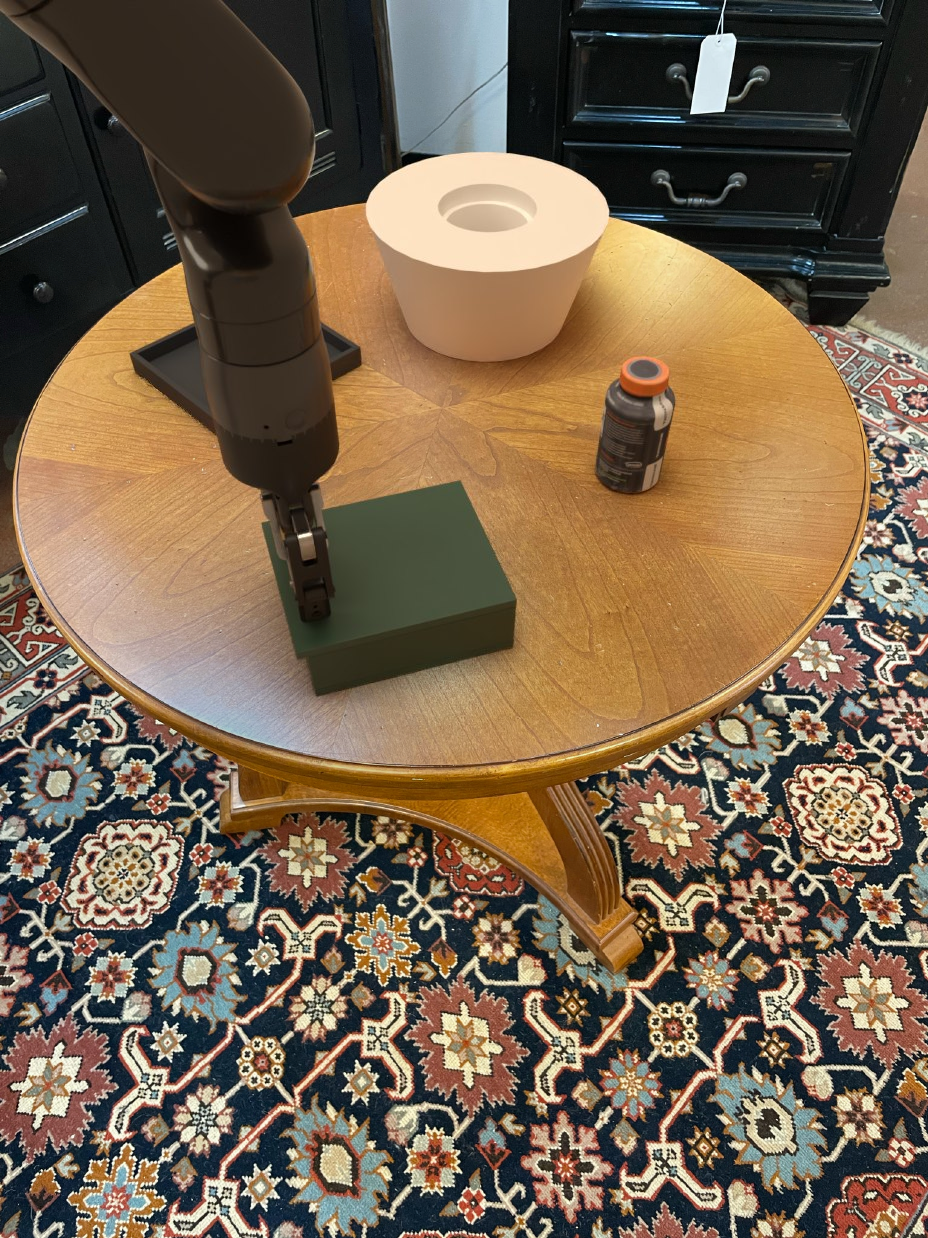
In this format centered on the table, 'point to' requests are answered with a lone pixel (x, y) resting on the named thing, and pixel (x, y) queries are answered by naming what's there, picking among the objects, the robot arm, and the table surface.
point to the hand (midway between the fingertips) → (303, 575)
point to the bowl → (486, 249)
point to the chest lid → (398, 569)
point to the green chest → (411, 651)
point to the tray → (180, 370)
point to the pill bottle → (635, 426)
